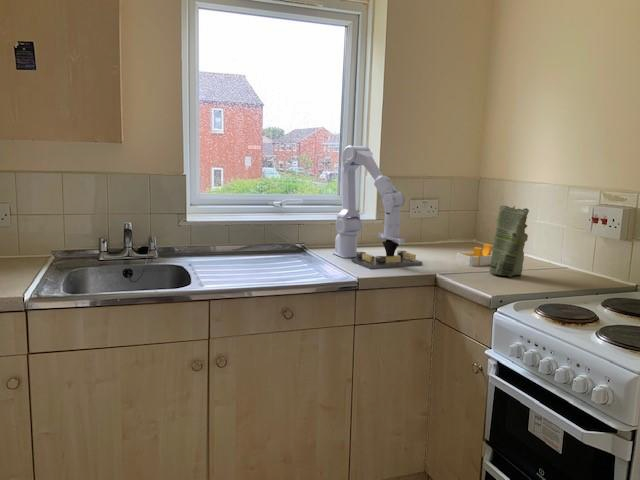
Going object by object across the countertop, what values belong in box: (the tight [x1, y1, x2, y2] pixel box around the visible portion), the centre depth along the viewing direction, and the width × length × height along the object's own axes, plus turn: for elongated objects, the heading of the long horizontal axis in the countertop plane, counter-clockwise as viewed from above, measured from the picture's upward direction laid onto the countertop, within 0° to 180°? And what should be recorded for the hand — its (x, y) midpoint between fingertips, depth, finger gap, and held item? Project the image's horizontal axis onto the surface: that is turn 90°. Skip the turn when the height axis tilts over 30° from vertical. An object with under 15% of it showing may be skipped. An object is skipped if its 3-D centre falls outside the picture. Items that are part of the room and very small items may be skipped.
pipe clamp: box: [473, 243, 493, 266], centre depth 225 cm, size 12×4×6 cm, turn 143°
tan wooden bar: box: [355, 251, 375, 262], centre depth 216 cm, size 10×4×2 cm, turn 26°
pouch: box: [489, 205, 530, 278], centre depth 202 cm, size 11×12×25 cm
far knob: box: [396, 250, 417, 261], centre depth 221 cm, size 10×4×2 cm, turn 26°
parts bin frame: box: [455, 250, 493, 267], centre depth 225 cm, size 9×17×4 cm, turn 116°
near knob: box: [375, 254, 401, 264], centre depth 213 cm, size 10×4×2 cm, turn 115°
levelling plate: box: [351, 256, 423, 270], centre depth 218 cm, size 14×23×2 cm, turn 116°
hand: (390, 260), depth 215 cm, fingers closed, pressing on near knob
